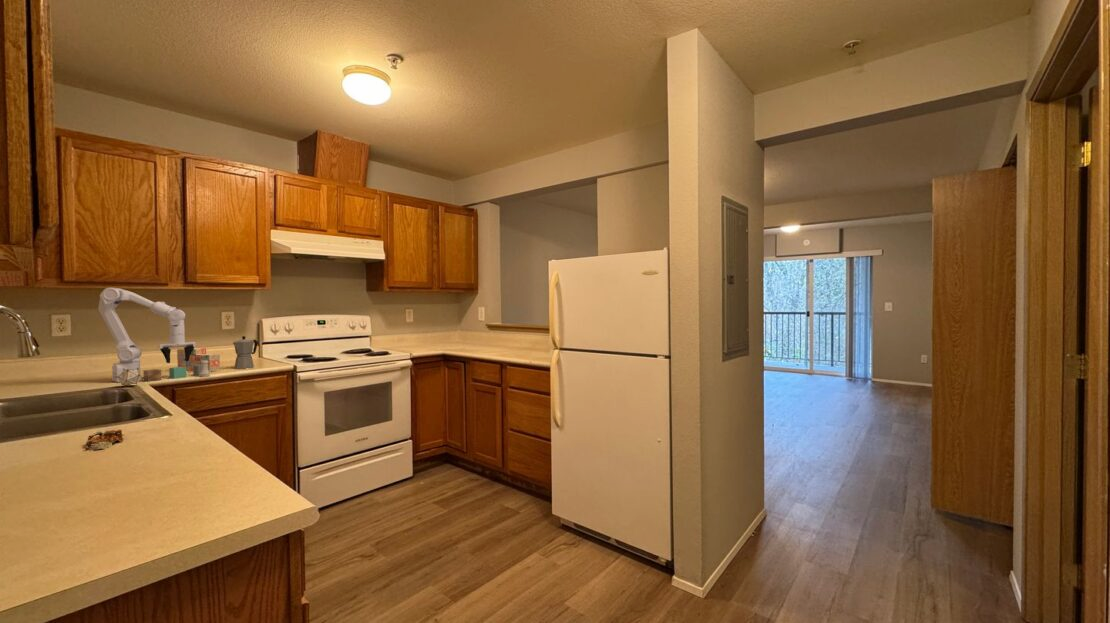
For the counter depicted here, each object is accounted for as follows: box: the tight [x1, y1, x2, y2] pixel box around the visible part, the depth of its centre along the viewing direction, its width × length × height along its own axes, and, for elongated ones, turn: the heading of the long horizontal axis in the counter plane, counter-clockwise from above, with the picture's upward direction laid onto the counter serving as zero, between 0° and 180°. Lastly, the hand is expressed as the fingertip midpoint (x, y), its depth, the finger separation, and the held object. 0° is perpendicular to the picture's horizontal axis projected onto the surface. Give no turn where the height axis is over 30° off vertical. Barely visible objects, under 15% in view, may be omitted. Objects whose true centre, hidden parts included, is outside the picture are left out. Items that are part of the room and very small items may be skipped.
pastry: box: [85, 429, 125, 452], centre depth 118 cm, size 7×12×4 cm, turn 41°
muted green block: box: [168, 366, 187, 380], centre depth 229 cm, size 5×5×5 cm
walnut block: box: [142, 368, 162, 383], centre depth 220 cm, size 5×5×5 cm
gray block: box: [192, 365, 211, 377], centre depth 238 cm, size 5×5×5 cm
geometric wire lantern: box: [116, 368, 144, 386], centre depth 204 cm, size 9×8×10 cm
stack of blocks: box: [176, 347, 221, 373], centre depth 252 cm, size 21×6×12 cm, turn 77°
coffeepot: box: [232, 335, 259, 370], centre depth 263 cm, size 15×9×18 cm, turn 165°
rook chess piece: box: [199, 360, 211, 378], centre depth 232 cm, size 4×4×8 cm
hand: (177, 362), depth 229 cm, fingers open, 7 cm apart
